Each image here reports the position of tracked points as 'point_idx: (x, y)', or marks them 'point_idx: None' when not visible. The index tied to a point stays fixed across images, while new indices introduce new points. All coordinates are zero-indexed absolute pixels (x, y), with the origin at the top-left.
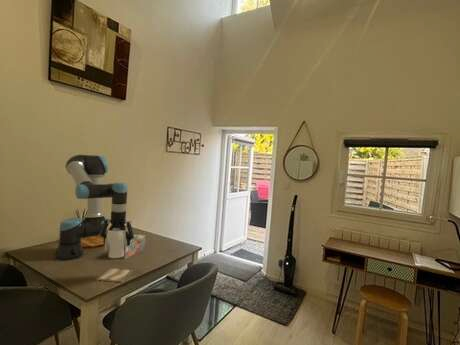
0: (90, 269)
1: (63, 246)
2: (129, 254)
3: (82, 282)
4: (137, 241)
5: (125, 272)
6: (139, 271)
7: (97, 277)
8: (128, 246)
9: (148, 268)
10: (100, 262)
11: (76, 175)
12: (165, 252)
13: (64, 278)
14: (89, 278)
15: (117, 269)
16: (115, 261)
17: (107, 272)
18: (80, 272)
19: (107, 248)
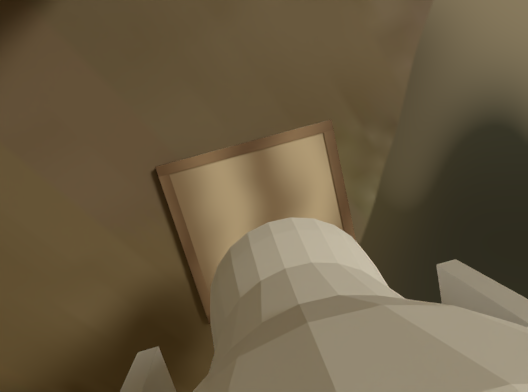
0: (56, 234)
1: None
2: None
3: (169, 366)
4: None
5: (311, 176)
6: (374, 105)
7: (206, 308)
8: (511, 290)
9: (407, 31)
10: (5, 107)
11: None
12: None
13: (38, 383)
14: (162, 320)
15: (231, 163)
16: (93, 33)
17: (205, 230)
18: (41, 294)
19: (164, 381)
